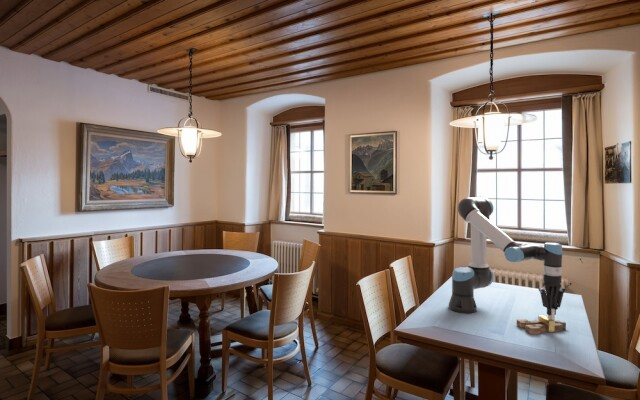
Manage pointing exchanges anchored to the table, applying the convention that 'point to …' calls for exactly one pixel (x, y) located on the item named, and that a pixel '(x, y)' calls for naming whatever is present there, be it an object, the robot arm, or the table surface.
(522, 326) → the tongs moving arm
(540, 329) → the tongs fixed arm
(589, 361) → the table surface
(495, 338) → the table surface
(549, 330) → the lock collar
